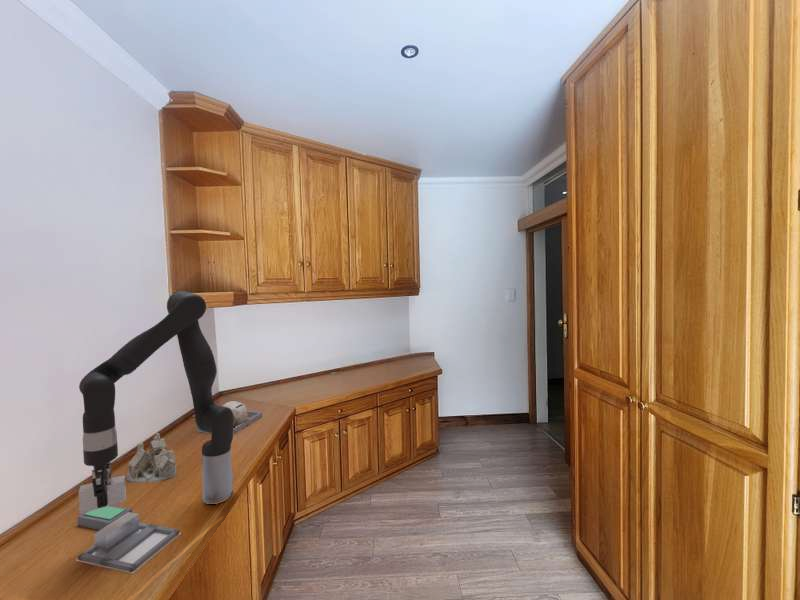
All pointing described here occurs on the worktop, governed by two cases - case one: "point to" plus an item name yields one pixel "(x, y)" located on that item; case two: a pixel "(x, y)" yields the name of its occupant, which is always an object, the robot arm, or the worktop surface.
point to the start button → (105, 513)
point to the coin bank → (237, 412)
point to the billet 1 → (113, 495)
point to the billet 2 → (116, 533)
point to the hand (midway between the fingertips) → (103, 501)
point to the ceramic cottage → (152, 463)
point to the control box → (99, 523)
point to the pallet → (133, 549)
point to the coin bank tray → (250, 413)
